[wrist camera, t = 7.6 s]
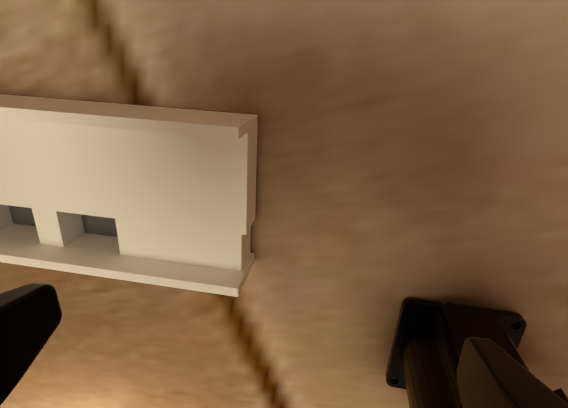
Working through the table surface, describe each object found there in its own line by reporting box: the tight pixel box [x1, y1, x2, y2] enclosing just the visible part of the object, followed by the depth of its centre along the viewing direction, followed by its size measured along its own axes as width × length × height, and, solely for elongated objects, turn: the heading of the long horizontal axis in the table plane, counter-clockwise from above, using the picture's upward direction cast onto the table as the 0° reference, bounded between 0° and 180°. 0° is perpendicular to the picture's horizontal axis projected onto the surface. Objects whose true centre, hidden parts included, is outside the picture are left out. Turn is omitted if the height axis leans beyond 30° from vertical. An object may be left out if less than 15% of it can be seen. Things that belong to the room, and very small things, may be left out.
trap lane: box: [0, 94, 258, 297], centre depth 19 cm, size 8×22×4 cm, turn 87°
